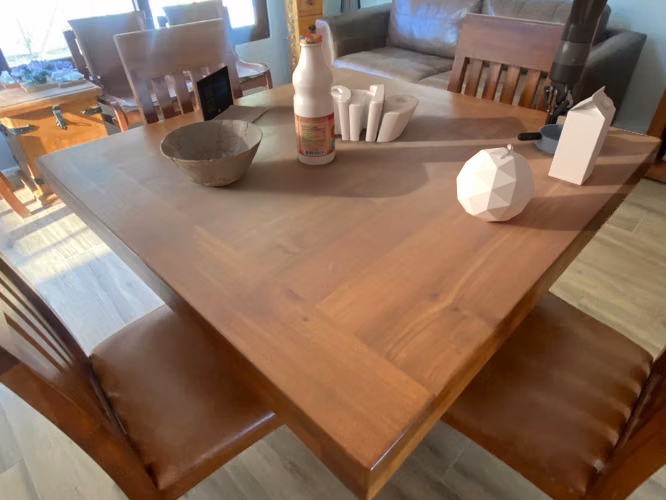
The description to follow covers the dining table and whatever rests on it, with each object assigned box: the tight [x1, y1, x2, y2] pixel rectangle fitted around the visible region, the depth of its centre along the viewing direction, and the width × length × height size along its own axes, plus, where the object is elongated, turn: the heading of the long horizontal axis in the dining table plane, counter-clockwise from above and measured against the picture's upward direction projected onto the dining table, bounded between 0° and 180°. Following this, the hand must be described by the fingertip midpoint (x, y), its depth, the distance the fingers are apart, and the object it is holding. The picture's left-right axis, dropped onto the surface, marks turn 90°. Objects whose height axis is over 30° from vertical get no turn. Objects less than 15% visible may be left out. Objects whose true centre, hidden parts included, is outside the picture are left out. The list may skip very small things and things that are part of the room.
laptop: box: [195, 64, 269, 124], centre depth 126 cm, size 18×12×13 cm
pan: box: [517, 123, 564, 155], centre depth 108 cm, size 18×12×4 cm
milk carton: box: [547, 85, 617, 186], centre depth 91 cm, size 7×7×19 cm
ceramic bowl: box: [159, 120, 264, 188], centre depth 97 cm, size 22×23×10 cm
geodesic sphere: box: [456, 143, 535, 223], centre depth 81 cm, size 15×14×14 cm
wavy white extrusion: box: [293, 83, 420, 143], centre depth 118 cm, size 35×16×11 cm, turn 77°
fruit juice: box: [291, 33, 336, 166], centre depth 99 cm, size 9×9×28 cm
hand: (548, 128), depth 114 cm, fingers closed
